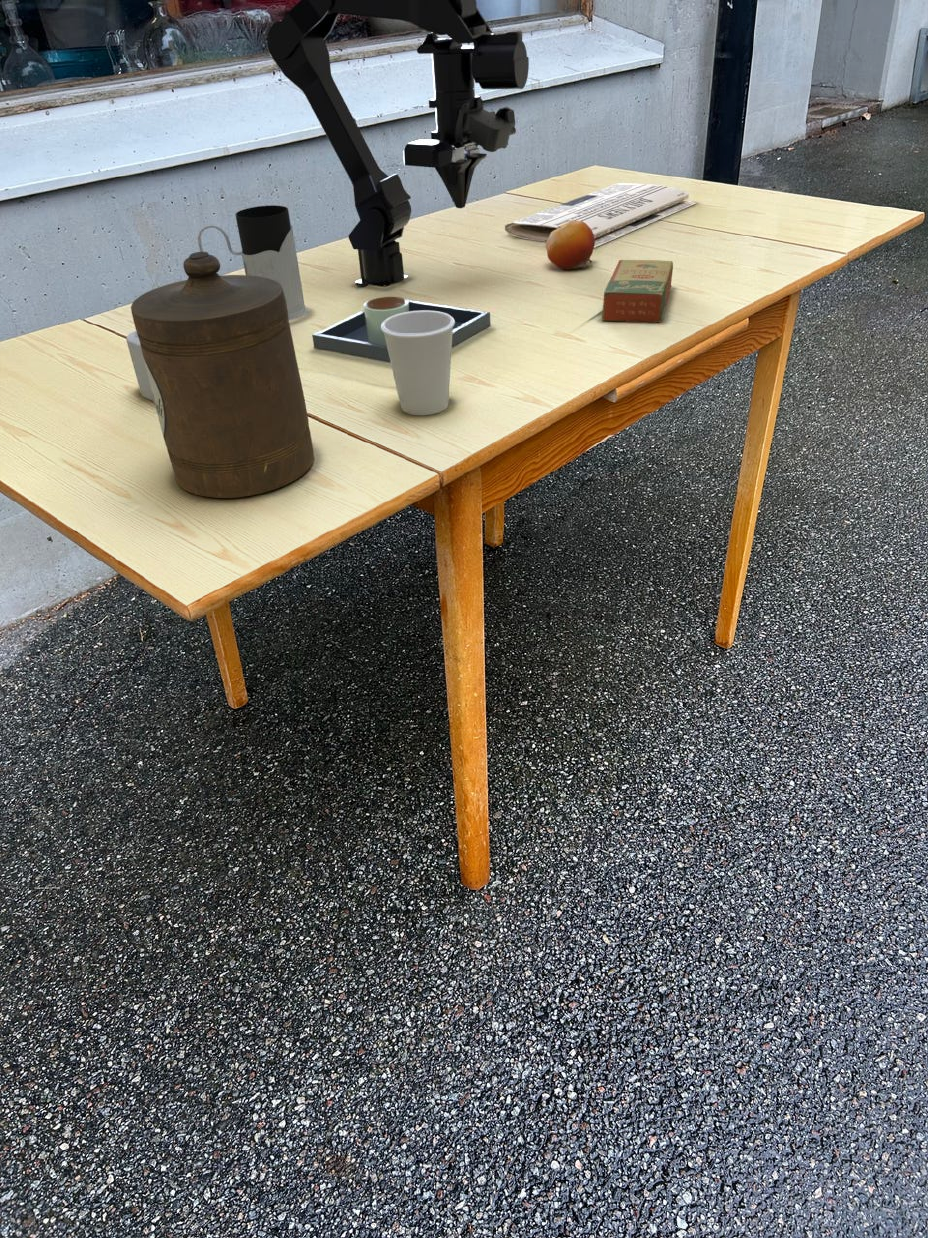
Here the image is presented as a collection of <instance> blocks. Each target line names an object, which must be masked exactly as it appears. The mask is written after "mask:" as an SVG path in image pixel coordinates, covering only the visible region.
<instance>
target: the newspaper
mask: <svg viewBox="0 0 928 1238" xmlns="http://www.w3.org/2000/svg"><path fill="white" fill-rule="evenodd" d="M689 196H690V193H688V192H686V191H685V190H684V189H682V188H678V187H671V186H666V185H659V184H654V183H635V182H634V183H633V182H632V183H631V182H618V183H615V184H612V185H610V186H607V187H604V188H601V189H598V190H596V191H593V192H590V193H588V194H585V195H582V196H580V197H577V198H575V199H572V200H569V201H567V202H563V203H560V204H558V205H556V206H553V207H550V208H547V209H545V210H544V209H543V210H542V211H539V212H536V213H534V214H531V215H528V216H526V217H523V218H521V219H520V218H519V219H518V220H515V221H513V222H510V223H507V224H504V231H505V232H506V233H507V235H509V236H510V235H511V236H512V237H513V236H514V237H516V238H519V239H525V240H531V241H539V242H545V243H547V240H548V238H549V236H550V234H551V232H552V231H554V230H556V229H557V228H558V227H560V226H562V225H563V224H566V223H567V222H570V221H583V222H584V223H586V224H587V225H588V226H589V227H590V229H591V230H592V232H593V234H594V238H595V245H594V249H595V248H598V247H600V246H602V245H605V244H606V243H609V242H612V241H614V240H616V239H618V238H620V237H623V236H625V235H627V234H629V233H632V232H634V231H637V230H639V229H641V228H643V227H645V226H648V225H650V224H652V223H655V222H657V221H659V220H661V219H663V218H666V217H669V216H670V215H673V214H676V213H677V212H680V211H682V210H684V209H687V208H689V207H692V206H694V205H696V204H697V203H696V202H695V201H689V200H688V199H689Z"/></svg>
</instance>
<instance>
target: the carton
mask: <svg viewBox="0 0 928 1238" xmlns="http://www.w3.org/2000/svg"><path fill="white" fill-rule="evenodd" d="M673 270H674V262H673V261H672V260H661V259H660V260H657V259H619V260H618V262H617V265H616V266H615V268H614V271H613V272H612V275H611V277H610V280H609V281H608V283H607V286H606V287H605V289H604V292H603V304H602V314H601V319H602V321H606V322H607V321H608V322H610V321H612V322H628V323H629V322H630V323H632V322H633V323H661V322H662V321H663V319H664V315H665V311H666V308H667V302H668V299H669V295H670V292H671V289H672V287H673V286H672V281H673V280H672V278H673V272H674V271H673Z"/></svg>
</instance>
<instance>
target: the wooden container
mask: <svg viewBox="0 0 928 1238" xmlns="http://www.w3.org/2000/svg"><path fill="white" fill-rule="evenodd" d="M182 267H183V270H184V273H185V274H186V276H187V279H185V280H180V281H175V282H172V283H168V284H165V285H161V286H159V287H156V288H153V289H150V290H149V291H146V292H144V293H143V294H141V295H139V296H137V298H135V300H133V302H132V303H131V306H130V311H131V316H132V321H133V324H134V328H135V331H137V334H138V338H139V341H140V345H141V350H142V354H143V358H144V362H145V366H146V370H147V374H148V378H149V382H150V386H151V390H152V394H153V398H154V401H153V402H154V407H155V410H156V414H157V419H158V422H159V425H160V430H161V433H162V437H163V440H164V445H165V447H166V450H167V453H168V457H169V461H170V464H171V468H172V471H173V474H174V478H175V480H176V482H177V484H178V485H179V487H181V489H183V490H185V492H188V493H190V494H194V495H197V496H201V497H206V498H215V499H233V498H243V497H244V498H245V497H249V496H256V495H260V494H263V493H268V492H271V491H274V490H277V489H280V488H282V487H284V486H287V485H288V484H290V483H292V482H294V481H296V480H297V479H299V478H300V477H302V476H303V475H304V474H305V473H306V472H307V471H309V470H310V468H311V467H312V465H313V463H314V460H315V451H314V446H313V439H312V434H311V433H312V432H311V430H310V423H309V415H308V411H307V405H306V399H305V394H304V388H303V384H302V380H301V375H300V369H299V365H298V360H297V356H296V355H297V354H296V350H295V344H294V340H293V334H292V329H291V324H290V321H289V318H288V310H287V304H286V299H285V295H284V291H283V288H282V286H281V284H280V283H278V282H277V281H275V280H272V279H269V278H265V277H259V276H250V275H246V274H228V275H227V274H224V275H220V274H219V273H218V272H219V271H220V269H221V263H220V260H219V259H218V258H217V256H215V255H213V254H210V253H209V252H207V251H203V252H200V251H196V252H193V253H192V252H191V254H190V255H189V256H188V257H187V258H185V259H184V261H183V265H182Z"/></svg>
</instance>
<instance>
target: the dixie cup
mask: <svg viewBox="0 0 928 1238" xmlns="http://www.w3.org/2000/svg"><path fill="white" fill-rule="evenodd" d="M454 324H455V320H454V318H453V317H452V316H450V315H449V314H446V313H443V312H439V311H430V310H420V311H410V312H404V313H400V314H396V315H393V316H391V317H389V318H387V319H386V320H385V321H384V322H383V323H382V324H381V330H382V331H383V332H384V336H385V340H386V344H387V349H388V353H389V357H390V362H391V363H390V362H389V363H390V366H391V369H392V370H391V371H392V374H393V378H394V379H393V380H394V383H395V387H396V392H397V397H398V401H399V405H400V408H401V410H402V412H404V413H406V414H408V415H412V416H429V415H430V416H431V415H435V414H438V413H441V412H443V411H445V410H446V409H447V408H448V407H449V405H450V404H449V403H450V387H451V385H450V383H451V368H452V367H451V365H452V349H453V348H452V332H453V326H454Z"/></svg>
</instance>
